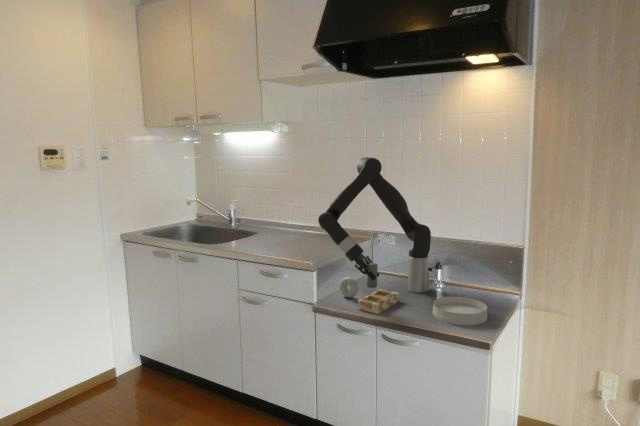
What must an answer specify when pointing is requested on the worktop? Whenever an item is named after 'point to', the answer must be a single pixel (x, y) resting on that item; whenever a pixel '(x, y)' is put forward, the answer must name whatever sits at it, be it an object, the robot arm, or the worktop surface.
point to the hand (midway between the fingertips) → (376, 277)
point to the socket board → (378, 301)
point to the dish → (460, 310)
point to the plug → (373, 268)
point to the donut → (353, 287)
